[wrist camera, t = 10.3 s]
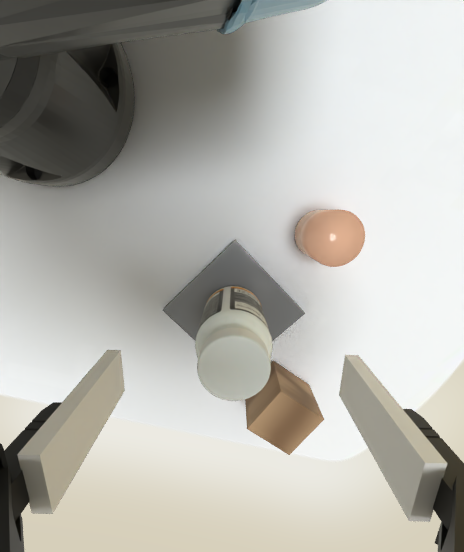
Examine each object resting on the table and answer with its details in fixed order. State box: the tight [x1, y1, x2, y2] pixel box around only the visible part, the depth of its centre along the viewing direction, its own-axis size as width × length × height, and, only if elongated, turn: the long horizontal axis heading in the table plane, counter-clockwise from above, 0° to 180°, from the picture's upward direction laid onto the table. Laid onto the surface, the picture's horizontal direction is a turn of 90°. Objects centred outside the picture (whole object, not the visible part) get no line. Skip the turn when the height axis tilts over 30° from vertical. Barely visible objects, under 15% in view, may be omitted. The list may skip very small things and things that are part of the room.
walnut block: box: [245, 361, 324, 455], centre depth 27 cm, size 5×5×5 cm
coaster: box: [163, 240, 305, 341], centre depth 26 cm, size 10×10×1 cm
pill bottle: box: [195, 286, 272, 401], centre depth 21 cm, size 6×6×10 cm
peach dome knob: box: [295, 210, 365, 267], centre depth 23 cm, size 4×4×4 cm
